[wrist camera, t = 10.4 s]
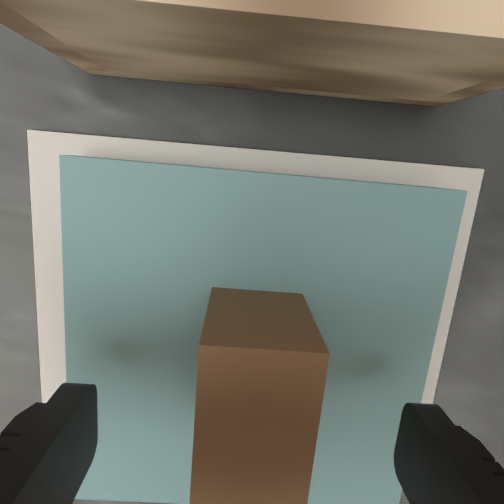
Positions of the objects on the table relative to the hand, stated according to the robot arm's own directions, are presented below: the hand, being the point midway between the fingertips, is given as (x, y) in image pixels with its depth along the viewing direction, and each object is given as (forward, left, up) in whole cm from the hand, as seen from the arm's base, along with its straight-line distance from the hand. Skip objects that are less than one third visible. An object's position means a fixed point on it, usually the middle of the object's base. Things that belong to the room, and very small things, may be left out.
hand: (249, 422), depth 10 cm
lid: (0, 0, -5) cm, 5 cm away
